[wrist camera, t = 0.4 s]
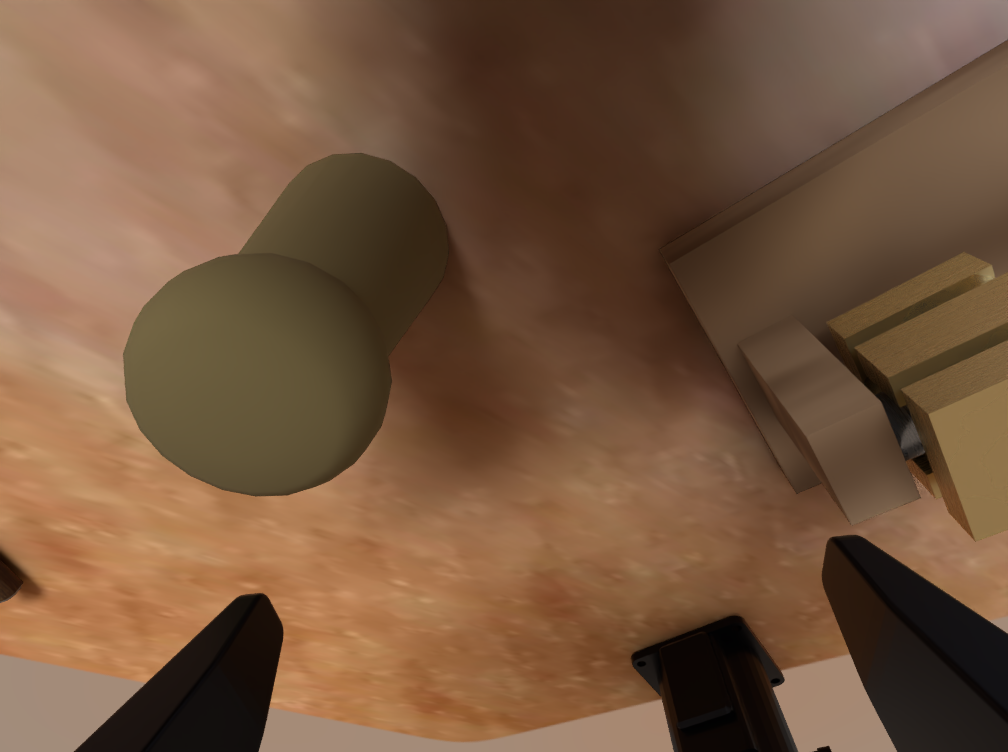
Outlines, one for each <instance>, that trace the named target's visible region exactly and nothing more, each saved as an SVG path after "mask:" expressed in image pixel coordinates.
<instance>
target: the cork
mask: <svg viewBox="0 0 1008 752" xmlns="http://www.w3.org/2000/svg"><path fill="white" fill-rule="evenodd" d="M448 255H449V248H448V238H447V228H446V224H445V222H444V220H443V217H442V215H441V213H440V211H439V208H438V206H437V204H436V201H435V200H434V198H433V197H432V196H431V195H430V194H429V193H428V191H427V190H426V189H425V188H424V187H423V185H422V184H421V183H420V182H419V181H418V180H417V178H416V177H414V176H413V175H411V174H409V173H408V172H406V171H405V170H403V169H402V168H400V167H399V166H397V165H396V164H394V163H392V162H391V161H388V160H385V159H381V158H377V157H374V156H370V155H367V154H363V153H354V154H334V155H331V156H328V157H326V158H324V159H321V160H319V161H317V162H314V163H312V164H310V165H307V166H306V167H305V168H304V169H303V170H302V171H301V172H300V173H299V174H298V175H297V176H296V177H295V178H294V179H293V180H292V181H291V182H290V183H289V184H288V186H287V187H286V188H285V190H284V191H283V193H282V194H281V195H280V197H279V198H278V200H277V201H276V202H275V204H274V205H273V206H272V208H271V209H270V211H269V212H268V213H267V215H266V216H265V218H264V219H263V220H262V222H261V223H260V225H259V226H258V227H257V229H256V230H255V231H254V233H253V234H252V236H251V237H250V238H249V240H248V241H247V243H246V244H245V245H244V247H243V248H242V250H241V251H240V252H239V254H234V255H228V256H222V257H218V258H215V259H213V260H210V261H208V262H205V263H203V264H200V265H198V266H195V267H193V268H191V269H188V270H186V271H183V272H182V273H180V274H179V275H177V276H176V277H174V278H173V279H171V280H170V281H168V282H167V283H166V284H165V285H164V286H163V287H162V288H161V289H160V290H159V291H158V292H157V293H156V294H155V295H154V296H153V297H152V298H151V299H150V300H149V301H148V302H147V303H146V305H145V306H144V307H143V308H142V310H141V312H140V313H139V315H138V317H137V318H136V320H135V322H134V324H133V327H132V330H131V333H130V336H129V338H128V341H127V344H126V347H125V350H124V352H123V359H124V376H125V388H126V401H127V403H128V405H129V407H130V409H131V412H132V414H133V416H134V418H135V420H136V423H137V425H138V427H139V429H140V431H141V432H142V433H143V434H144V435H145V436H146V438H147V439H148V440H149V441H150V442H151V443H152V445H153V446H154V447H155V448H156V449H157V450H158V451H159V453H160V454H161V455H162V456H163V457H165V458H166V459H168V460H169V461H170V462H172V463H173V464H174V465H176V466H177V467H179V468H180V469H181V470H183V471H184V472H186V473H187V474H188V475H190V476H192V477H194V478H196V479H199V480H201V481H203V482H206V483H208V484H210V485H212V486H215V487H217V488H219V489H222V490H226V491H231V492H236V493H241V494H246V495H251V496H283V495H290V494H293V493H297V492H300V491H303V490H306V489H310V488H313V487H316V486H318V485H321V484H323V483H326V482H328V481H330V480H332V479H333V478H334V477H336V476H337V475H339V474H340V473H342V472H343V471H344V470H346V469H347V468H349V467H350V466H351V465H353V464H354V463H355V462H356V461H357V460H358V459H359V457H360V456H361V455H362V454H363V453H364V451H365V450H366V449H367V447H368V446H369V444H370V443H371V441H372V440H373V438H374V437H375V435H376V434H377V432H378V431H379V429H380V428H381V426H382V423H383V419H384V416H385V413H386V408H387V403H388V398H389V393H390V388H391V383H392V379H391V371H390V365H389V359H388V356H389V355H390V353H391V352H392V351H393V349H394V348H395V346H396V345H397V344H398V342H399V341H400V339H401V338H402V337H403V335H404V334H405V332H406V331H407V330H408V328H409V327H410V325H411V324H412V323H413V321H414V320H415V318H416V317H417V316H418V314H419V313H420V311H421V310H422V309H423V307H424V306H425V305H426V303H427V302H428V300H429V299H430V298H431V296H432V294H433V293H434V291H435V290H436V288H437V286H438V285H439V283H440V282H441V280H442V279H443V277H444V272H445V268H446V264H447V259H448Z"/></svg>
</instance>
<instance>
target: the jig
mask: <svg viewBox="0 0 1008 752" xmlns="http://www.w3.org/2000/svg"><path fill="white" fill-rule="evenodd" d="M659 251H660V252H661V254H662V256H663V258H664V260H665V261H666V263H667V265H668V267H669V269H670V270H671V272H672V274H673V276H674V278H675V279H676V281H677V283H678V285H679V287H680V288H681V290H682V292H683V294H684V296H685V297H686V299H687V301H688V303H689V304H690V306H691V308H692V310H693V312H694V313H695V315H696V317H697V319H698V321H699V322H700V324H701V326H702V328H703V330H704V331H705V333H706V335H707V337H708V339H709V340H710V342H711V344H712V346H713V348H714V349H715V351H716V353H717V355H718V356H719V358H720V360H721V362H722V364H723V365H724V367H725V369H726V371H727V373H728V374H729V376H730V378H731V380H732V382H733V383H734V385H735V387H736V389H737V391H738V392H739V394H740V396H741V398H742V400H743V401H744V403H745V405H746V407H747V408H748V410H749V412H750V414H751V416H752V417H753V419H754V421H755V423H756V425H757V426H758V428H759V430H760V432H761V434H762V435H763V437H764V439H765V441H766V443H767V444H768V446H769V448H770V450H771V452H772V453H773V455H774V457H775V459H776V461H777V462H778V464H779V466H780V468H781V469H782V471H783V473H784V474H785V476H786V478H787V479H788V481H789V482H790V484H791V485H792V487H793V489H794V490H795V492H796V493H797V494H798V493H800V492H802V491H805V490H807V489H809V488H812V487H814V486H816V485H819V484H821V483H822V484H823V485H824V487H825V488H826V490H827V491H828V492H829V494H830V495H831V497H832V498H833V500H834V501H835V502H836V504H837V505H838V507H839V508H840V510H841V511H842V512H843V514H844V515H845V517H846V518H847V520H848V521H849V522H850V524H851V525H855V524H857V523H860V522H862V521H865V520H867V519H870V518H872V517H875V516H877V515H880V514H882V513H885V512H887V511H889V510H892V509H894V508H897V507H899V506H902V505H904V504H907V503H909V502H912V501H914V500H917V499H919V498H921V497H920V494H919V492H918V490H917V487H916V485H915V482H914V480H913V477H912V475H911V473H910V470H909V468H908V465H907V463H906V461H905V458H904V456H903V453H902V451H901V449H900V446H899V444H898V441H897V439H896V436H895V434H894V432H893V429H892V427H891V424H890V422H889V420H888V417H887V415H886V412H885V410H884V408H883V405H882V403H881V401H880V400H879V399H878V398H877V397H876V396H875V395H874V394H873V393H872V392H871V391H870V390H868V389H867V388H866V387H865V386H864V385H863V384H862V383H861V382H860V381H859V380H858V379H857V378H856V377H855V376H854V375H853V374H852V373H851V372H850V371H849V370H848V369H847V368H846V366H845V364H844V362H843V359H842V357H841V355H840V353H839V350H838V348H837V346H836V343H835V341H834V339H833V337H832V334H831V332H830V330H829V327H828V325H827V323H826V322H828V321H830V320H832V319H834V318H836V317H838V316H840V315H842V314H844V313H846V312H848V311H850V310H852V309H854V308H856V307H858V306H860V305H862V304H864V303H866V302H868V301H869V300H871V299H873V298H875V297H877V296H879V295H881V294H883V293H885V292H887V291H889V290H891V289H893V288H895V287H897V286H899V285H901V284H903V283H905V282H907V281H909V280H911V279H912V278H914V277H916V276H918V275H920V274H922V273H924V272H926V271H928V270H930V269H932V268H934V267H936V266H938V265H940V264H942V263H944V262H946V261H948V260H950V259H952V258H953V257H955V256H957V255H959V254H961V253H963V252H965V253H967V254H969V255H972V256H974V257H976V258H978V259H980V260H982V261H984V262H986V263H989V264H991V265H992V267H993V271H994V275H995V278H996V277H998V276H1000V275H1002V274H1004V273H1006V272H1008V40H1007V41H1005V42H1004V43H1002V44H1000V45H999V46H997V47H995V48H994V49H992V50H990V51H989V52H987V53H985V54H984V55H982V56H980V57H979V58H977V59H975V60H974V61H972V62H970V63H969V64H967V65H965V66H964V67H962V68H960V69H959V70H957V71H955V72H954V73H952V74H950V75H949V76H947V77H945V78H944V79H942V80H940V81H939V82H937V83H935V84H934V85H932V86H930V87H929V88H927V89H925V90H924V91H922V92H920V93H919V94H917V95H915V96H914V97H912V98H910V99H909V100H907V101H905V102H904V103H902V104H900V105H899V106H897V107H895V108H894V109H892V110H890V111H889V112H887V113H885V114H884V115H882V116H880V117H879V118H877V119H875V120H874V121H872V122H870V123H869V124H867V125H866V126H864V127H862V128H861V129H859V130H857V131H856V132H854V133H852V134H851V135H849V136H847V137H846V138H844V139H842V140H841V141H839V142H837V143H836V144H834V145H832V146H831V147H829V148H827V149H826V150H824V151H822V152H821V153H819V154H817V155H816V156H814V157H812V158H811V159H809V160H807V161H806V162H804V163H802V164H801V165H799V166H797V167H796V168H794V169H792V170H791V171H789V172H787V173H786V174H784V175H782V176H781V177H779V178H777V179H776V180H774V181H772V182H771V183H769V184H767V185H766V186H764V187H762V188H761V189H759V190H757V191H756V192H754V193H752V194H751V195H749V196H747V197H746V198H744V199H742V200H741V201H739V202H737V203H736V204H734V205H732V206H731V207H729V208H727V209H726V210H724V211H722V212H721V213H719V214H717V215H716V216H714V217H713V218H711V219H709V220H708V221H706V222H704V223H703V224H701V225H699V226H698V227H696V228H694V229H693V230H691V231H689V232H688V233H686V234H684V235H683V236H681V237H679V238H678V239H676V240H674V241H673V242H671V243H669V244H668V245H666V246H664V247H663V248H661V249H659Z"/></svg>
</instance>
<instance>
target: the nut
mask: <svg viewBox="0 0 1008 752" xmlns="http://www.w3.org/2000/svg"><path fill="white" fill-rule="evenodd" d="M826 323H827V325H828V327H829V330H830V332H831V334H832V337H833V339H834V341H835V343H836V346H837V348H838V350H839V353H840V355H841V357H842V359H843V362H844V364H845V366H846V368H847V369H848V370H849V371H850V372H851V373H852V374H853V375H854V376H855V377H856V378H857V379H858V380H859V381H860V382H861V383H862V384H863V385H864V386H865V387H866V388H867V389H868V390H870V391H871V392H872V393H873V394H874V395H875V394H877V393H880V392H882V391H883V392H884V393H885V394H886V395H887V396H888V397H889V398H890V399H891V400H892V401H894V402H895V403H896V404H897V405H898V406H899V407H902V406H904V405H907V407H908V409H909V412H910V415H911V417H912V420H913V422H914V425H915V427H916V430H917V433H918V435H919V438H920V440H921V443H922V445H923V448H924V451H925V453H924V454H922V455H919V456H917V457H914V458H912V459H910V460H907V461H906V463H907V465H908V468H909V470H910V471H911V472H912V474H913V475H914V476H915V477H916V478H917V479H918V480H919V481H920V482H921V483H922V484H923V485H924V486H925V488H926V489H927V490H928V491H929V492H930V493H931V494H932V495H933V496H934V497H935V498H936V499H938V498H941V497H943V499H944V502H945V504H946V507H947V510H948V512H949V514H950V515H951V516H952V517H953V518H954V519H955V520H956V521H957V522H958V523H959V524H960V525H961V527H962V528H963V529H964V530H965V531H966V532H967V533H968V534H969V535H970V536H971V537H972V538H973V539H974V541H975V542H976V541H979V540H982V539H984V538H987V537H990V536H993V535H995V534H998V533H1001V532H1003V531H1006V530H1008V272H1006V273H1004V274H1002V275H1000V276H998V277H996V278H995V275H994V271H993V267H992V265H991V264H989V263H986V262H984V261H982V260H980V259H978V258H976V257H974V256H972V255H969V254H967V253H965V252H963V253H961V254H959V255H957V256H955V257H953V258H952V259H950V260H948V261H946V262H944V263H942V264H940V265H938V266H936V267H934V268H932V269H930V270H928V271H926V272H924V273H922V274H920V275H918V276H916V277H914V278H912V279H911V280H909V281H907V282H905V283H903V284H901V285H899V286H897V287H895V288H893V289H891V290H889V291H887V292H885V293H883V294H881V295H879V296H877V297H875V298H873V299H871V300H869V301H868V302H866V303H864V304H862V305H860V306H858V307H856V308H854V309H852V310H850V311H848V312H846V313H844V314H842V315H840V316H838V317H836V318H834V319H832V320H830V321H828V322H826Z"/></svg>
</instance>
